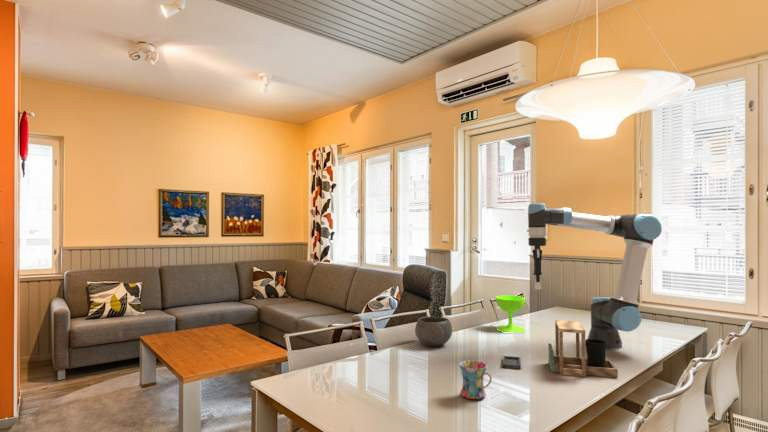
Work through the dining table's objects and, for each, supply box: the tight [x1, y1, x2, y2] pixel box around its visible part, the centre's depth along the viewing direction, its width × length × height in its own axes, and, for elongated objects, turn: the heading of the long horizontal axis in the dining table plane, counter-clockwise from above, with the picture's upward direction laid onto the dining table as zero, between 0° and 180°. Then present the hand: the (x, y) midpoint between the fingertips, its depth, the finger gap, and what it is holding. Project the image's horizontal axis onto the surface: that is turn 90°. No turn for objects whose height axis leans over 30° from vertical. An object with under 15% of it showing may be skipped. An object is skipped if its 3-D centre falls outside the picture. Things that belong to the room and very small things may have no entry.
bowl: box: [414, 316, 453, 347], centre depth 209 cm, size 18×18×13 cm
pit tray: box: [502, 355, 522, 370], centre depth 179 cm, size 7×12×2 cm, turn 163°
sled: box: [547, 342, 619, 378], centre depth 172 cm, size 24×12×8 cm, turn 74°
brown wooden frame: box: [554, 319, 587, 378], centre depth 173 cm, size 9×16×18 cm, turn 164°
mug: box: [458, 360, 493, 400], centre depth 144 cm, size 12×9×11 cm
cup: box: [585, 338, 607, 368], centre depth 170 cm, size 8×8×12 cm
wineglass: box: [495, 295, 526, 333], centre depth 239 cm, size 16×16×18 cm
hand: (537, 289), depth 195 cm, fingers closed
